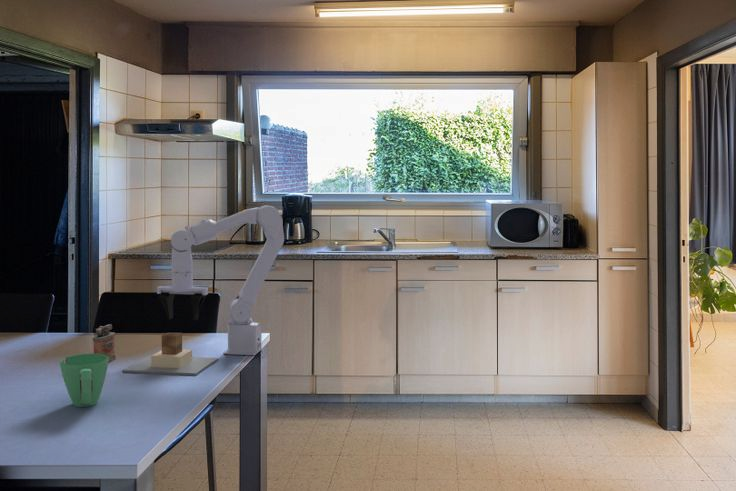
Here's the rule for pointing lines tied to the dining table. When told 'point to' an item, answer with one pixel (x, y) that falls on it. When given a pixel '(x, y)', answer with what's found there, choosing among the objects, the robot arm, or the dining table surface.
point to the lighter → (105, 342)
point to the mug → (84, 377)
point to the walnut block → (172, 343)
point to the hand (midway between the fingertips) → (182, 319)
